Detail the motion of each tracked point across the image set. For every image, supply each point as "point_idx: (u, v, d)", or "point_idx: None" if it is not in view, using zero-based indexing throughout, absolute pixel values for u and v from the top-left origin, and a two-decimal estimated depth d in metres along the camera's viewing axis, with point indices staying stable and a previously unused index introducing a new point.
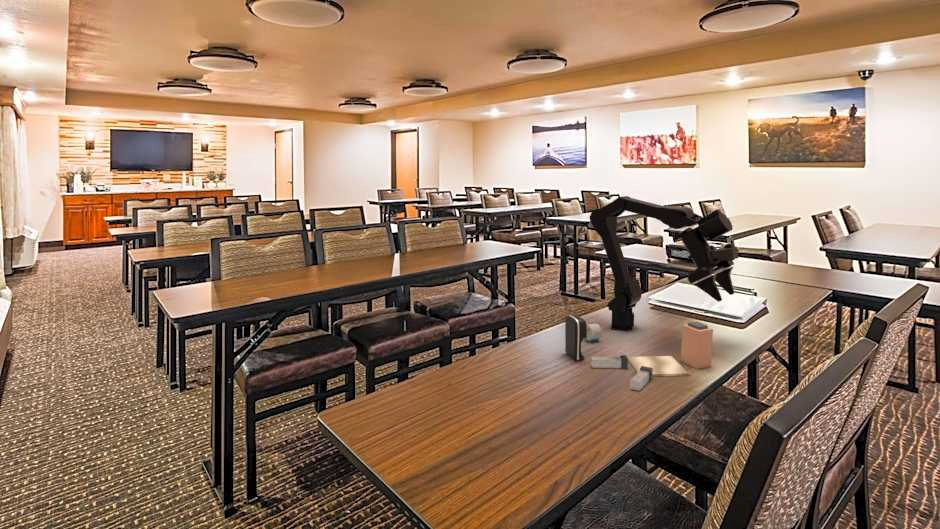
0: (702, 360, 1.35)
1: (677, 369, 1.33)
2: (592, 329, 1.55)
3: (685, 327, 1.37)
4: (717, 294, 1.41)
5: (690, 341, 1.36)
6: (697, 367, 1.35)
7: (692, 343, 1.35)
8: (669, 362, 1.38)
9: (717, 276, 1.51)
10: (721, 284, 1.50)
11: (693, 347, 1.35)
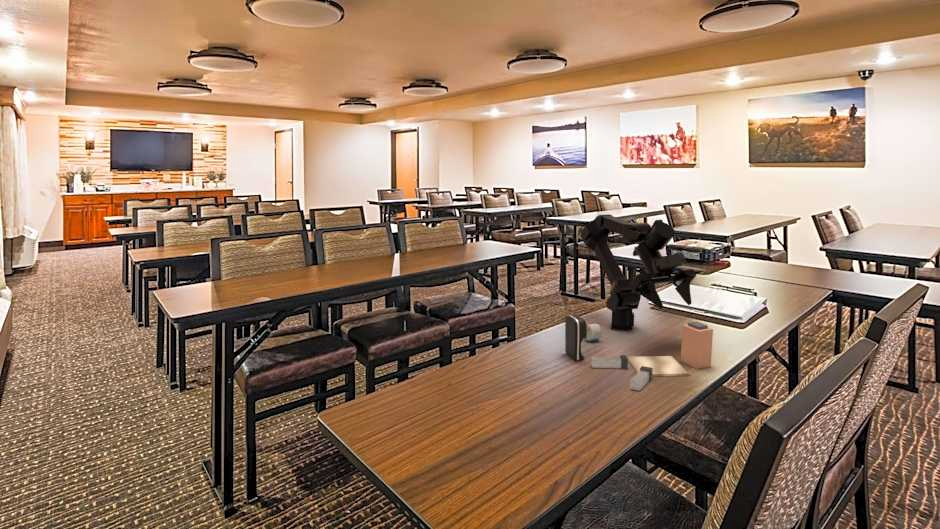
0: (702, 360, 1.35)
1: (677, 369, 1.33)
2: (592, 329, 1.55)
3: (685, 327, 1.37)
4: (657, 301, 1.42)
5: (690, 341, 1.36)
6: (697, 367, 1.35)
7: (692, 343, 1.35)
8: (669, 362, 1.38)
9: (678, 287, 1.49)
10: (681, 295, 1.48)
11: (693, 347, 1.35)
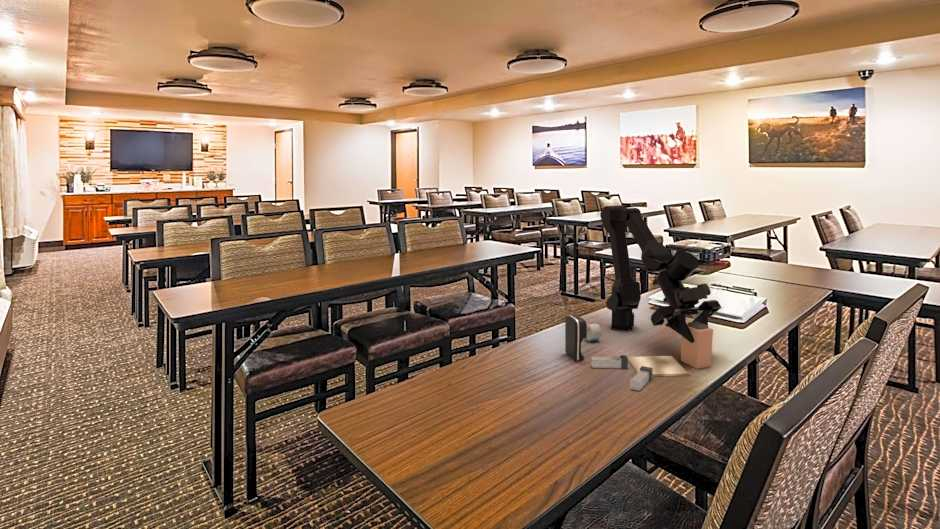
0: (702, 360, 1.35)
1: (677, 369, 1.33)
2: (592, 329, 1.55)
3: None
4: (688, 335, 1.35)
5: None
6: (697, 367, 1.35)
7: (692, 343, 1.35)
8: (669, 362, 1.38)
9: None
10: None
11: (693, 346, 1.35)
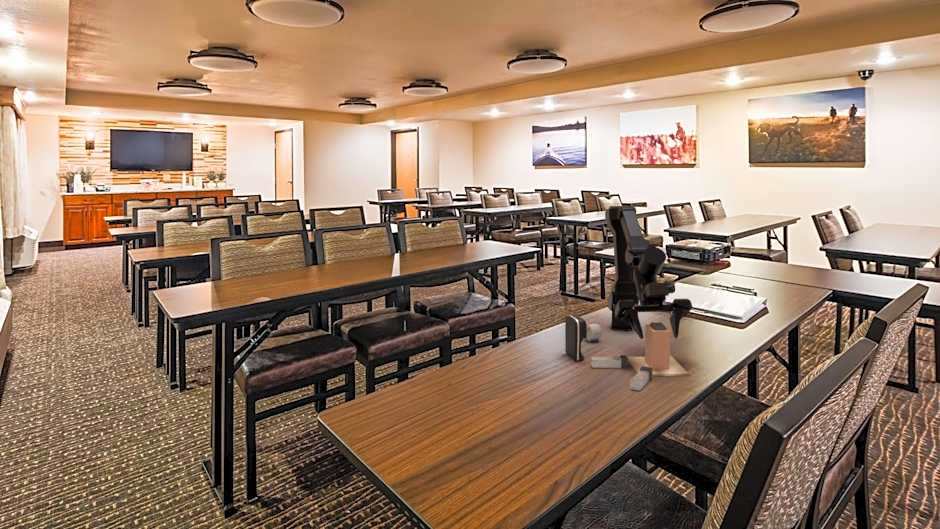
0: (659, 362, 1.33)
1: (677, 369, 1.33)
2: (592, 329, 1.55)
3: (647, 327, 1.36)
4: (638, 330, 1.34)
5: (649, 341, 1.35)
6: None
7: (650, 343, 1.34)
8: None
9: (671, 318, 1.38)
10: (672, 327, 1.37)
11: (650, 347, 1.34)
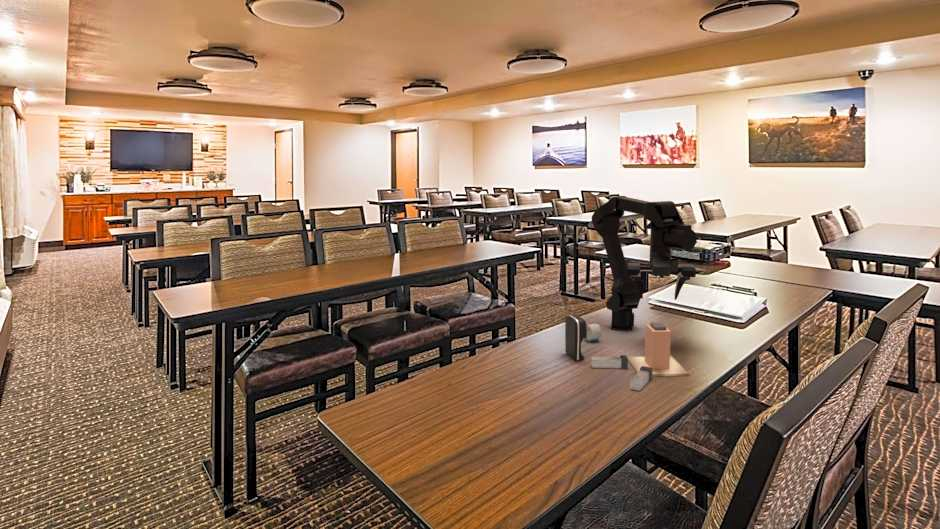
0: (659, 362, 1.33)
1: (677, 369, 1.33)
2: (592, 329, 1.55)
3: (647, 327, 1.36)
4: (639, 292, 1.53)
5: (649, 341, 1.35)
6: None
7: (650, 343, 1.34)
8: None
9: (677, 277, 1.52)
10: (676, 285, 1.52)
11: (650, 347, 1.34)
